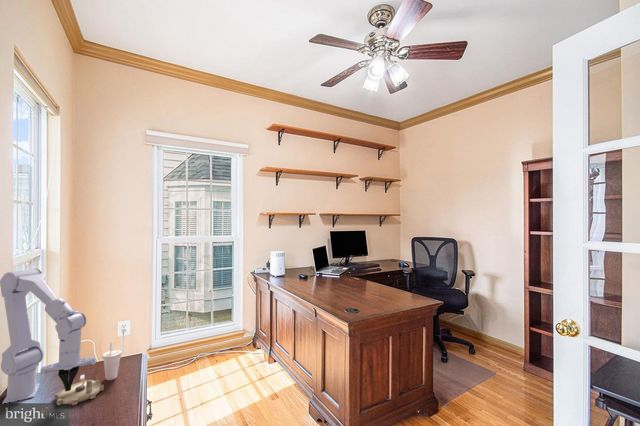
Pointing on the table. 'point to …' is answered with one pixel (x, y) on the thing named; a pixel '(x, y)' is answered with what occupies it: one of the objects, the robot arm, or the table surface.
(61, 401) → the sprocket
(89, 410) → the table surface
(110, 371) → the smoothie
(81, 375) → the index pointer
